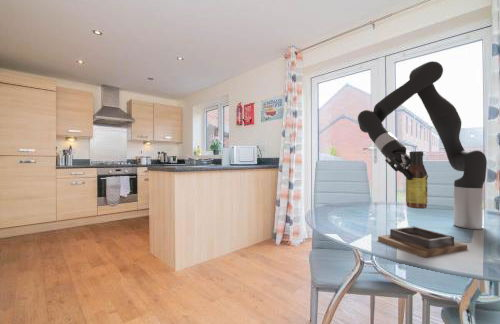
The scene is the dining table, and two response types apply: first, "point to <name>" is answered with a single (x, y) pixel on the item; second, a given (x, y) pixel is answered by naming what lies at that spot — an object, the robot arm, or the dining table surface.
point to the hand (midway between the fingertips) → (418, 178)
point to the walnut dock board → (422, 241)
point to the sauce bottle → (416, 182)
